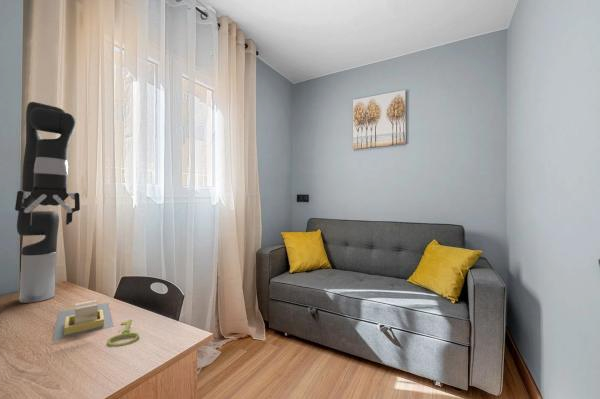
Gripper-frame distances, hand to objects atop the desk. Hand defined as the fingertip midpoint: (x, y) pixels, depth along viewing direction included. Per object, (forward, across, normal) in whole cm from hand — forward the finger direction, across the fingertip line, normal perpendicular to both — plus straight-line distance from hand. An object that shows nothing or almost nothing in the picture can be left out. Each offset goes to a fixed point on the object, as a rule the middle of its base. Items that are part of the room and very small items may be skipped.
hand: (49, 224), depth 79 cm
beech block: (+29, -10, +13) cm, 33 cm away
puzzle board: (+30, -9, +8) cm, 32 cm away
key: (+31, -18, +25) cm, 44 cm away
